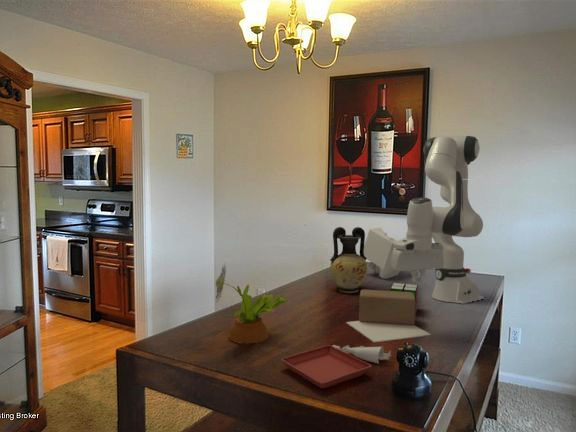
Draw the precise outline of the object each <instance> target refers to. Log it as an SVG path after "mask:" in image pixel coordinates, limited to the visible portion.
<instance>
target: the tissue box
mask: <svg viewBox="0 0 576 432" xmlns="http://www.w3.org/2000/svg"><path fill="white" fill-rule="evenodd" d="M368 229H369V228H368ZM396 241H398V240H396V239H394V238H393V237H390V236H388V234H387V232H385V231H384V229H382V228H381V227H376V228H375V227H374V228H370V229H369V230H368V232H367V236H366V238H365V242H364V256H365V257H366V258H367V259H366V261H369V262H370V263H369V264H367V267H369V268H370V269H371V270H373V271H372V273H373V274H374V275H378V277H379V278H381V279H382V280H387V279H390V278H394V277H397V276H399V274H400V271H396V270H393V269H392V267H391V258H392V252H393V250H394V249H396V248H394V247H393V244H394V242H396Z"/></svg>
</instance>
